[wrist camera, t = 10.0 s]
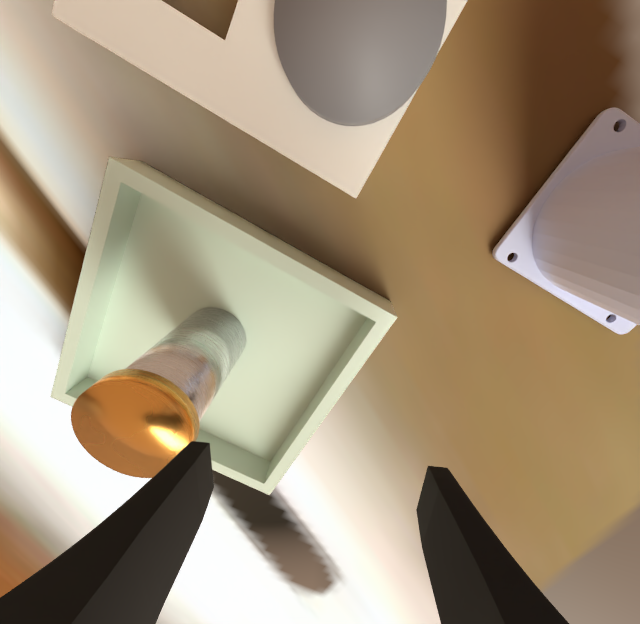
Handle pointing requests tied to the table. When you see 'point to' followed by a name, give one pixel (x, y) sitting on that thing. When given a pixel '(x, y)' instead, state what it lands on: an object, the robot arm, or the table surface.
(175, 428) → the jar
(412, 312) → the table surface
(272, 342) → the tray
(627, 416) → the table surface
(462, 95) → the table surface
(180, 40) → the plate
